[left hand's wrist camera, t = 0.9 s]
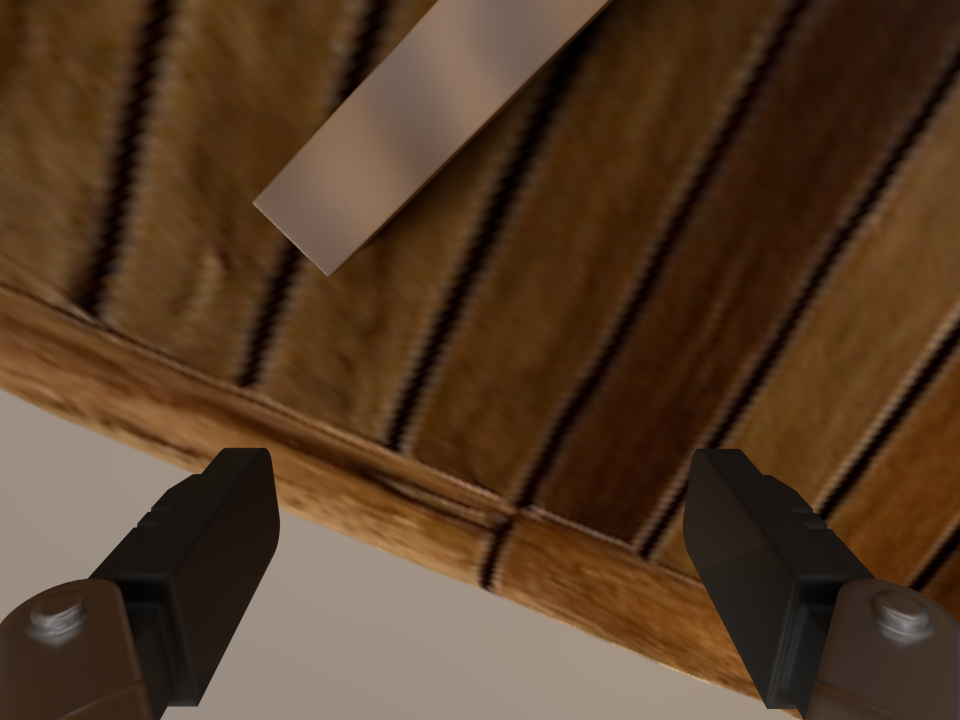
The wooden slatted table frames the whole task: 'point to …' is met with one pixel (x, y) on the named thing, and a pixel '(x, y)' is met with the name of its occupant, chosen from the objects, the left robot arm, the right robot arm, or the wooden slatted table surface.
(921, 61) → the wooden slatted table surface
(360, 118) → the bar
